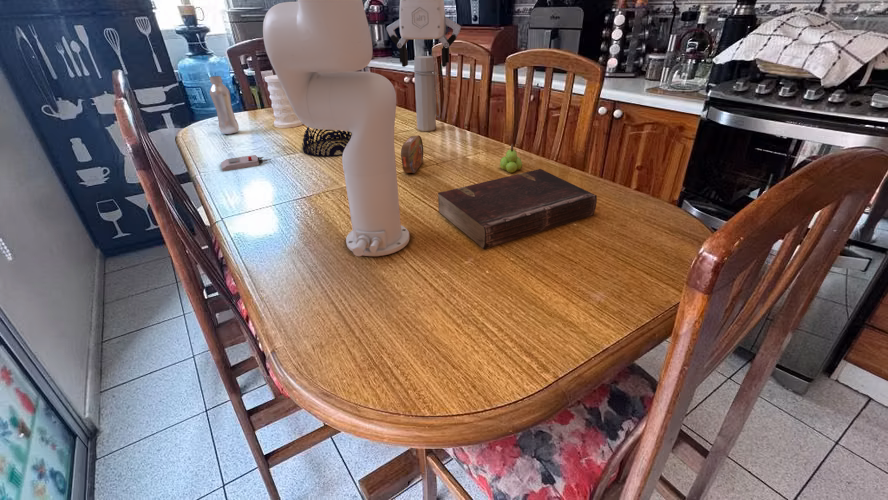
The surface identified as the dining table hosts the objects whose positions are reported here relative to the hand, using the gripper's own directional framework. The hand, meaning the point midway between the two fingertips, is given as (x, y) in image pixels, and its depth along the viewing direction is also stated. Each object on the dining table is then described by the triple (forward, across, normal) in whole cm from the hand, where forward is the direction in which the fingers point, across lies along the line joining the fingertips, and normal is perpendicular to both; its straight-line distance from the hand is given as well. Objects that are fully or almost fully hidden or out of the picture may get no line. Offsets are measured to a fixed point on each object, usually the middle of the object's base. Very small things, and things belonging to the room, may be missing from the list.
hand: (424, 66), depth 99 cm
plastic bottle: (+28, -84, +38) cm, 96 cm away
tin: (+28, -6, +7) cm, 30 cm away
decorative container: (+28, -68, +53) cm, 90 cm away
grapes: (+28, +22, +10) cm, 37 cm away
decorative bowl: (+28, -37, +24) cm, 52 cm away
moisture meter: (+29, -58, +5) cm, 65 cm away
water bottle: (+28, -10, +49) cm, 57 cm away
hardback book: (+28, +24, -20) cm, 42 cm away
